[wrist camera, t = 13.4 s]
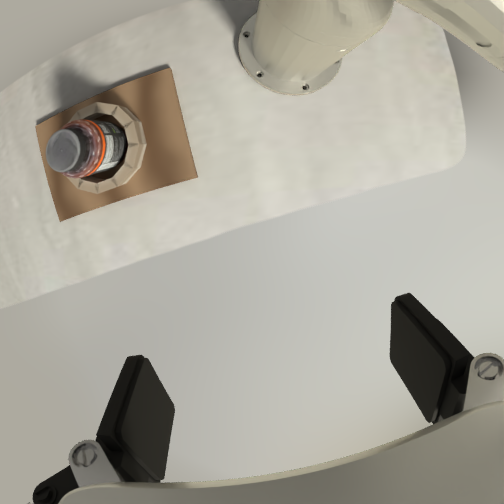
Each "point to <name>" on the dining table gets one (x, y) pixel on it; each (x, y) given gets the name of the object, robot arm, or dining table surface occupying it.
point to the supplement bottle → (86, 148)
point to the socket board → (139, 145)
